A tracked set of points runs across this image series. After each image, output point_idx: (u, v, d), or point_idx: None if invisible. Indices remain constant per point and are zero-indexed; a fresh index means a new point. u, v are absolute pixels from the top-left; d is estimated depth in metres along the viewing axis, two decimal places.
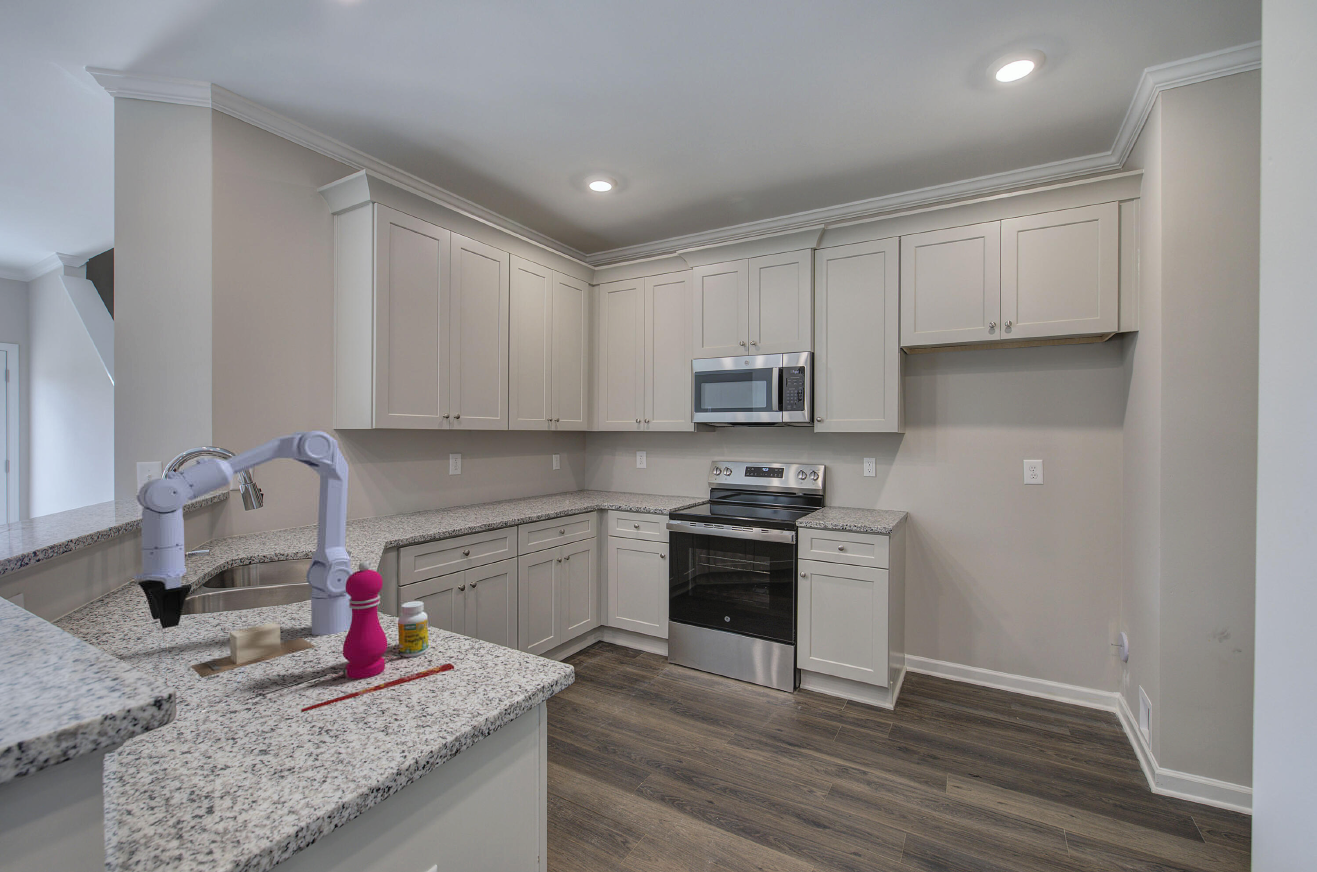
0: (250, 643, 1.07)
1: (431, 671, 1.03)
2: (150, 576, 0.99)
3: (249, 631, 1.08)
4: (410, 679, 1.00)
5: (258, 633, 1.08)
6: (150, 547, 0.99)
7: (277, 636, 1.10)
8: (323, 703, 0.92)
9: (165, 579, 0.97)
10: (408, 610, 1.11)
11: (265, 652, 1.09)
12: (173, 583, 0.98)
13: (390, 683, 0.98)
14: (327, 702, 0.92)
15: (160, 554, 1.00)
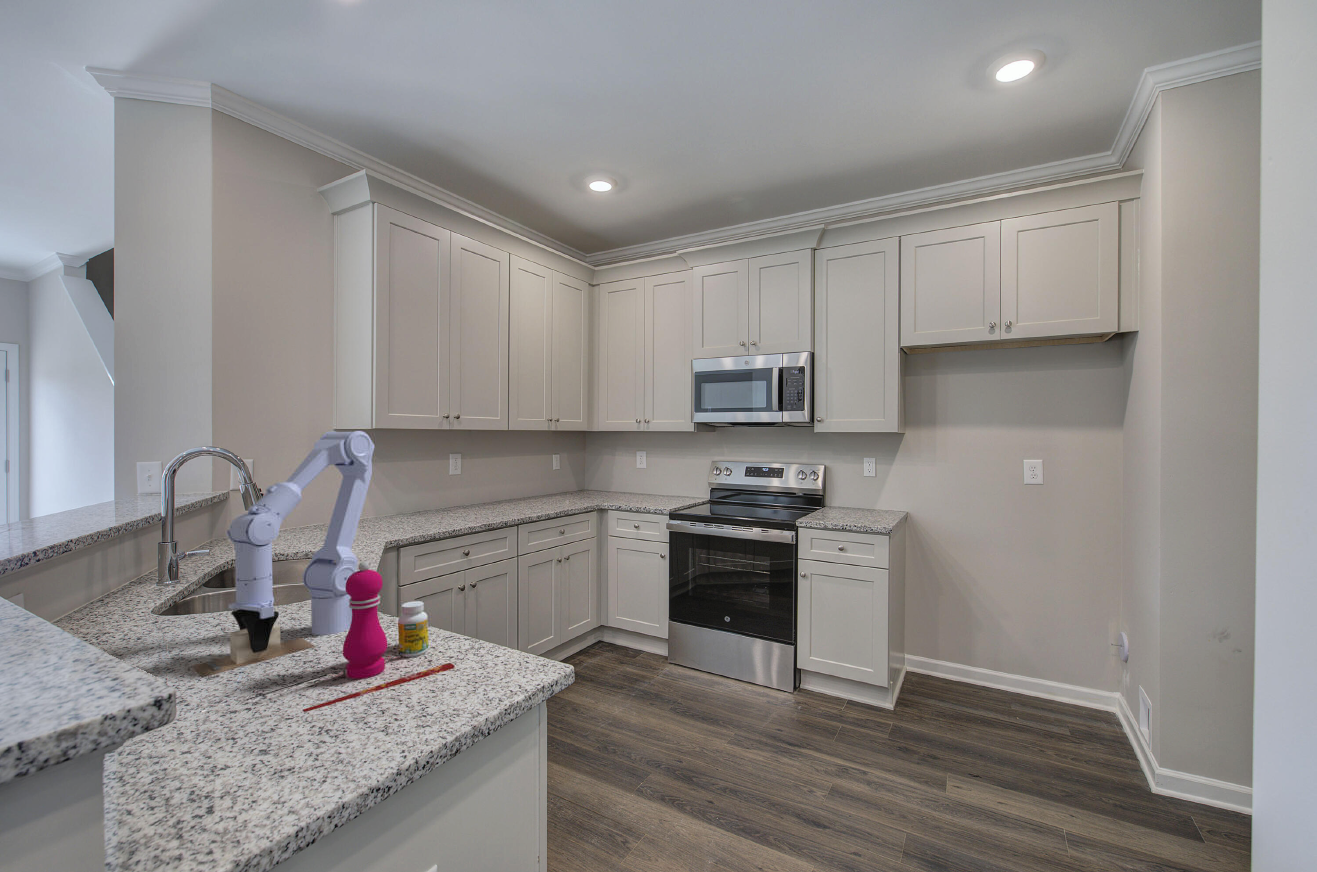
0: None
1: (432, 670, 1.03)
2: (244, 606, 1.06)
3: None
4: (411, 679, 1.00)
5: None
6: (249, 578, 1.06)
7: (277, 636, 1.10)
8: (325, 703, 0.91)
9: (260, 609, 1.04)
10: (408, 610, 1.11)
11: (265, 652, 1.09)
12: (267, 613, 1.05)
13: (391, 683, 0.98)
14: (329, 702, 0.92)
15: (253, 585, 1.07)
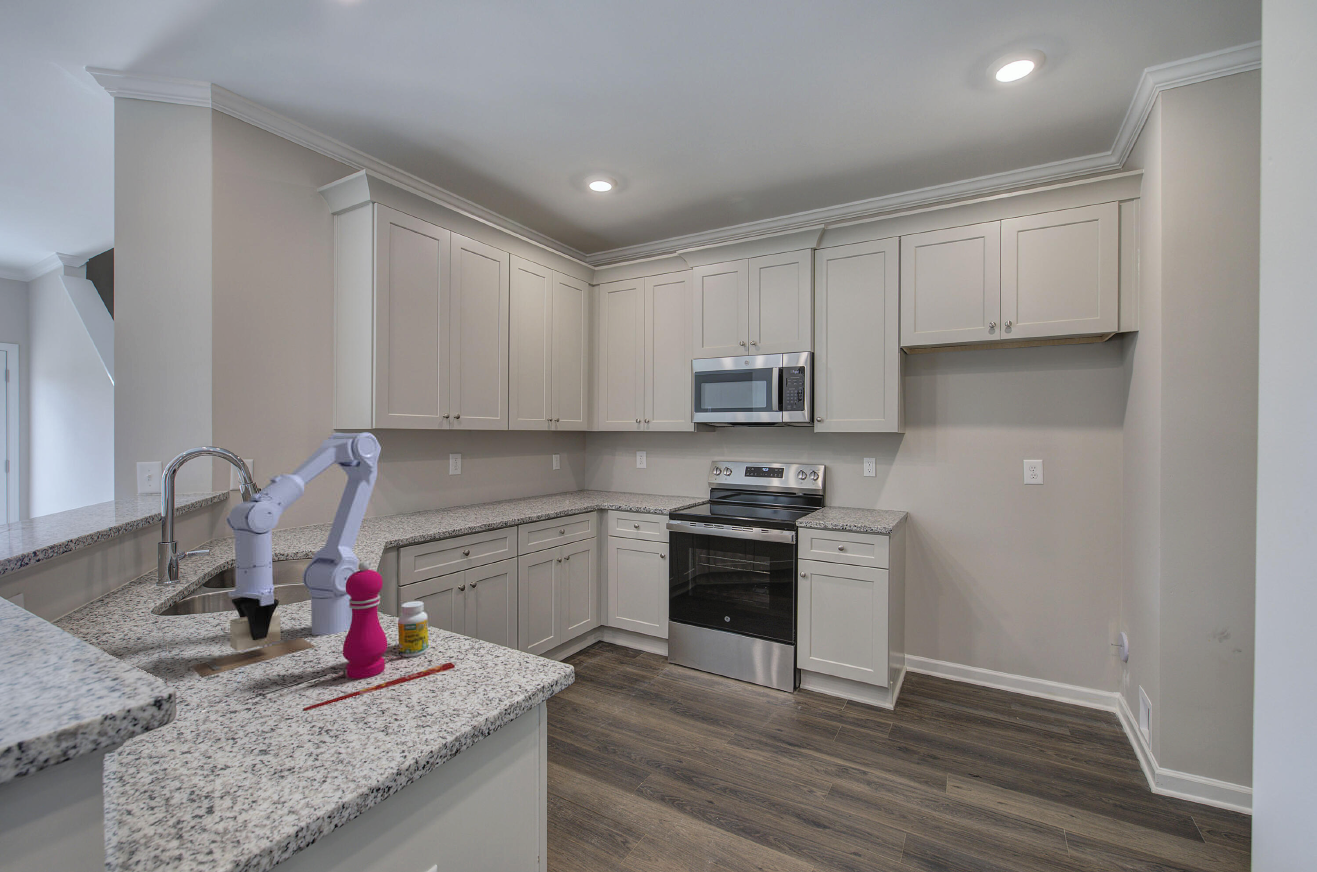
0: None
1: (432, 670, 1.03)
2: (244, 593, 1.06)
3: None
4: (411, 678, 1.00)
5: None
6: (249, 566, 1.06)
7: (277, 624, 1.10)
8: (325, 702, 0.92)
9: (260, 596, 1.04)
10: (408, 610, 1.11)
11: (265, 640, 1.09)
12: (267, 600, 1.05)
13: (391, 682, 0.99)
14: (329, 701, 0.92)
15: (253, 573, 1.07)
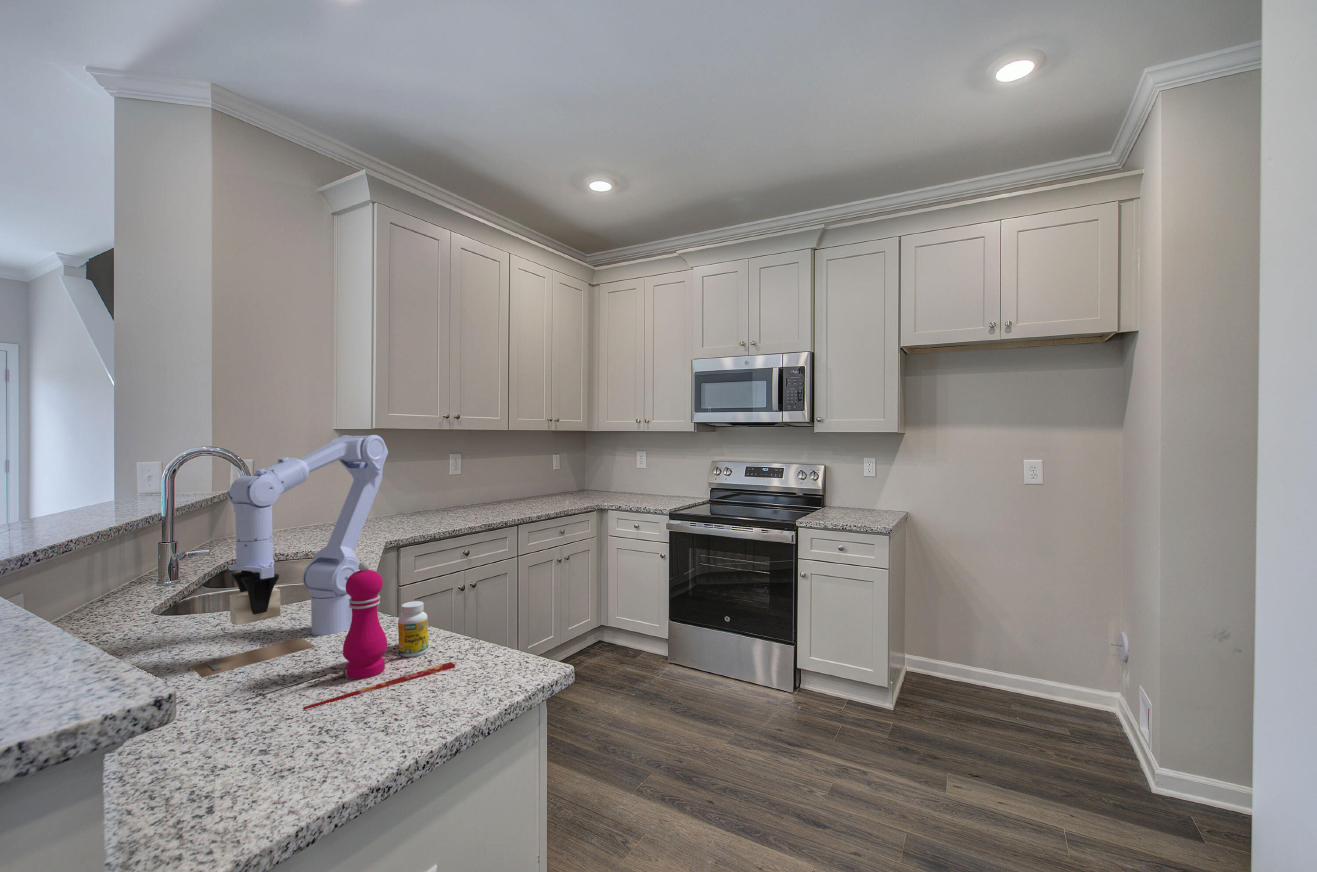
0: None
1: (432, 670, 1.03)
2: (244, 567, 1.05)
3: None
4: (411, 678, 1.01)
5: None
6: (250, 539, 1.06)
7: (277, 599, 1.10)
8: (325, 701, 0.92)
9: (260, 570, 1.04)
10: (408, 610, 1.11)
11: (265, 615, 1.08)
12: (267, 573, 1.04)
13: (391, 682, 0.99)
14: (329, 700, 0.92)
15: (253, 546, 1.06)
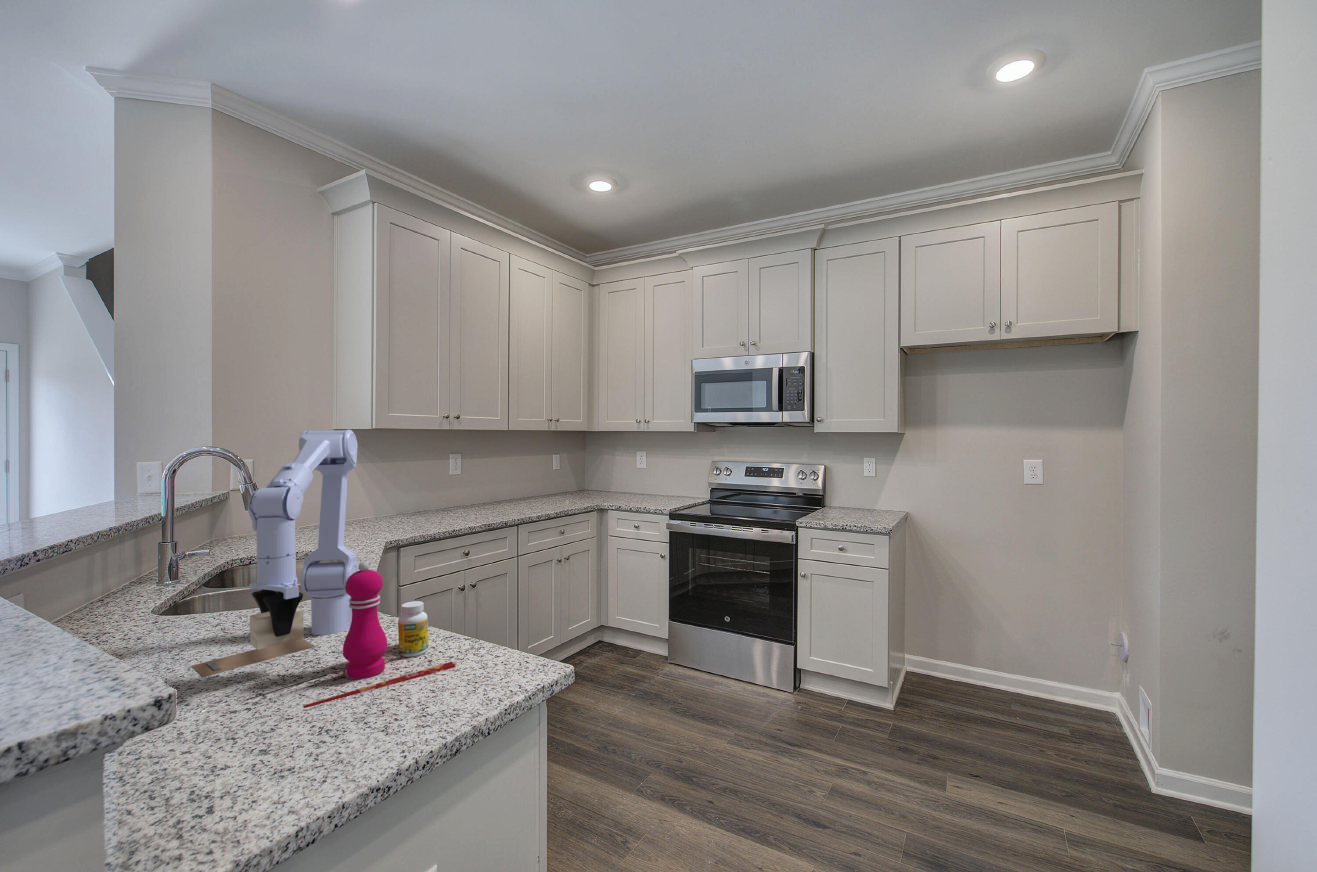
0: (271, 627, 0.99)
1: (433, 669, 1.04)
2: (267, 586, 0.98)
3: None
4: (411, 677, 1.01)
5: None
6: (282, 555, 0.99)
7: (300, 620, 1.02)
8: (325, 700, 0.93)
9: (284, 589, 0.96)
10: (408, 610, 1.11)
11: (287, 637, 1.01)
12: (291, 593, 0.97)
13: (391, 681, 0.99)
14: (329, 699, 0.93)
15: (275, 564, 0.99)
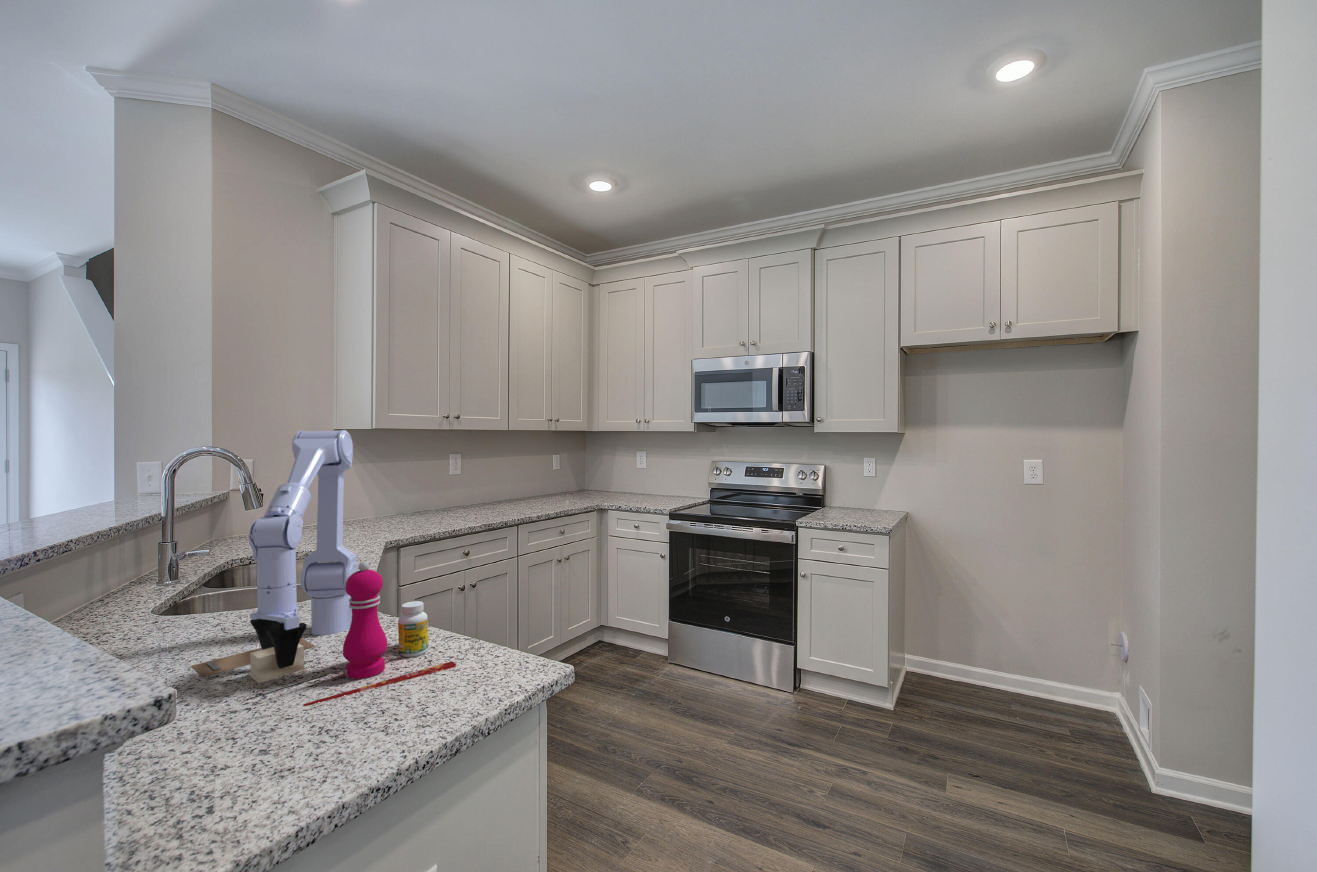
0: (272, 665, 0.99)
1: (433, 668, 1.04)
2: (267, 616, 0.98)
3: (271, 651, 1.00)
4: (411, 676, 1.01)
5: None
6: (283, 584, 0.99)
7: (301, 656, 1.02)
8: (325, 699, 0.93)
9: (284, 620, 0.96)
10: (408, 610, 1.11)
11: None
12: (292, 623, 0.97)
13: (392, 680, 1.00)
14: (329, 698, 0.93)
15: (276, 594, 0.99)
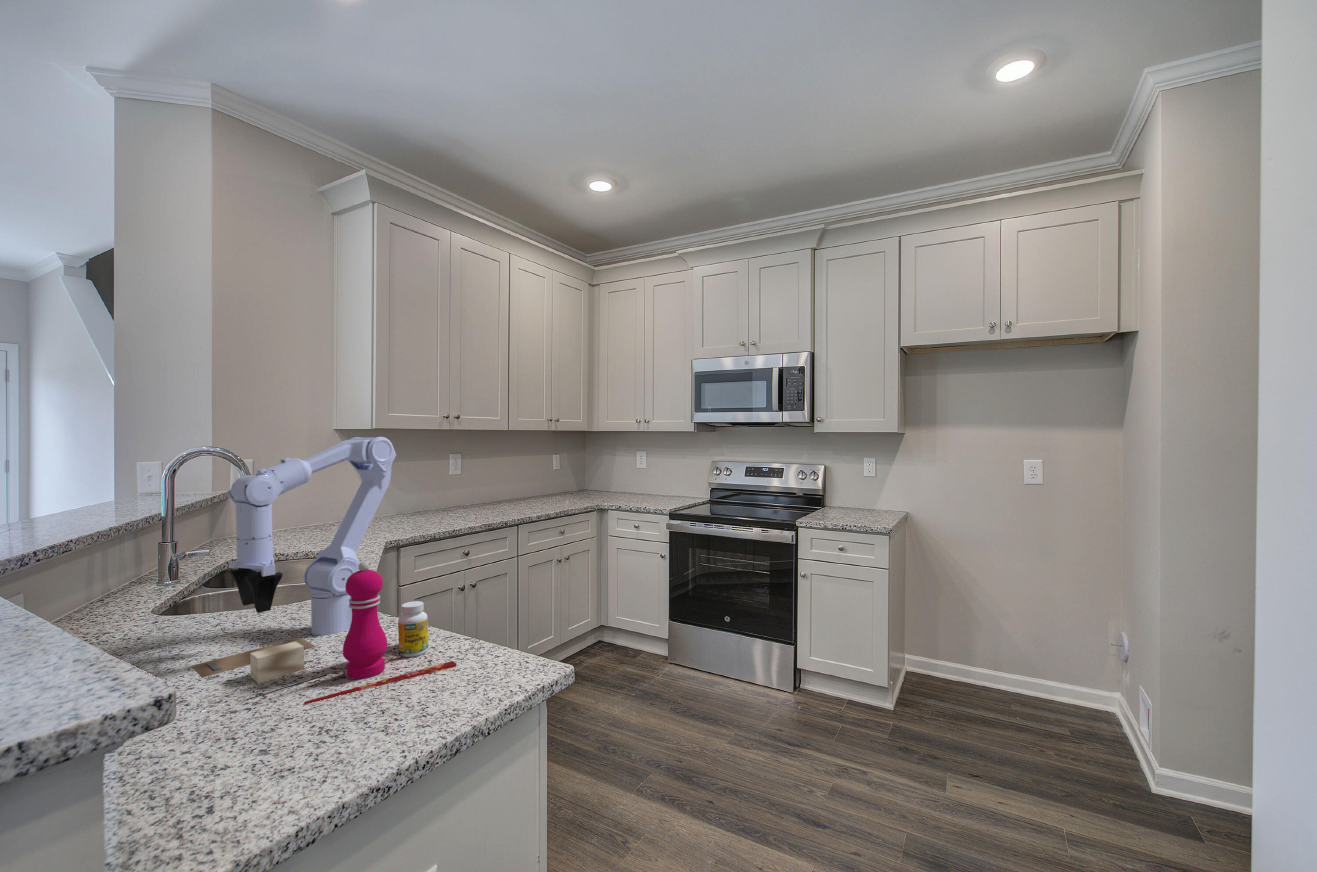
0: (272, 665, 0.99)
1: (433, 668, 1.04)
2: (246, 565, 1.07)
3: (271, 651, 1.00)
4: (412, 676, 1.01)
5: (280, 654, 1.00)
6: (248, 538, 1.08)
7: (301, 656, 1.02)
8: (325, 697, 0.94)
9: (262, 567, 1.06)
10: (408, 610, 1.11)
11: None
12: (269, 571, 1.06)
13: (392, 679, 1.00)
14: (329, 696, 0.94)
15: (254, 545, 1.08)
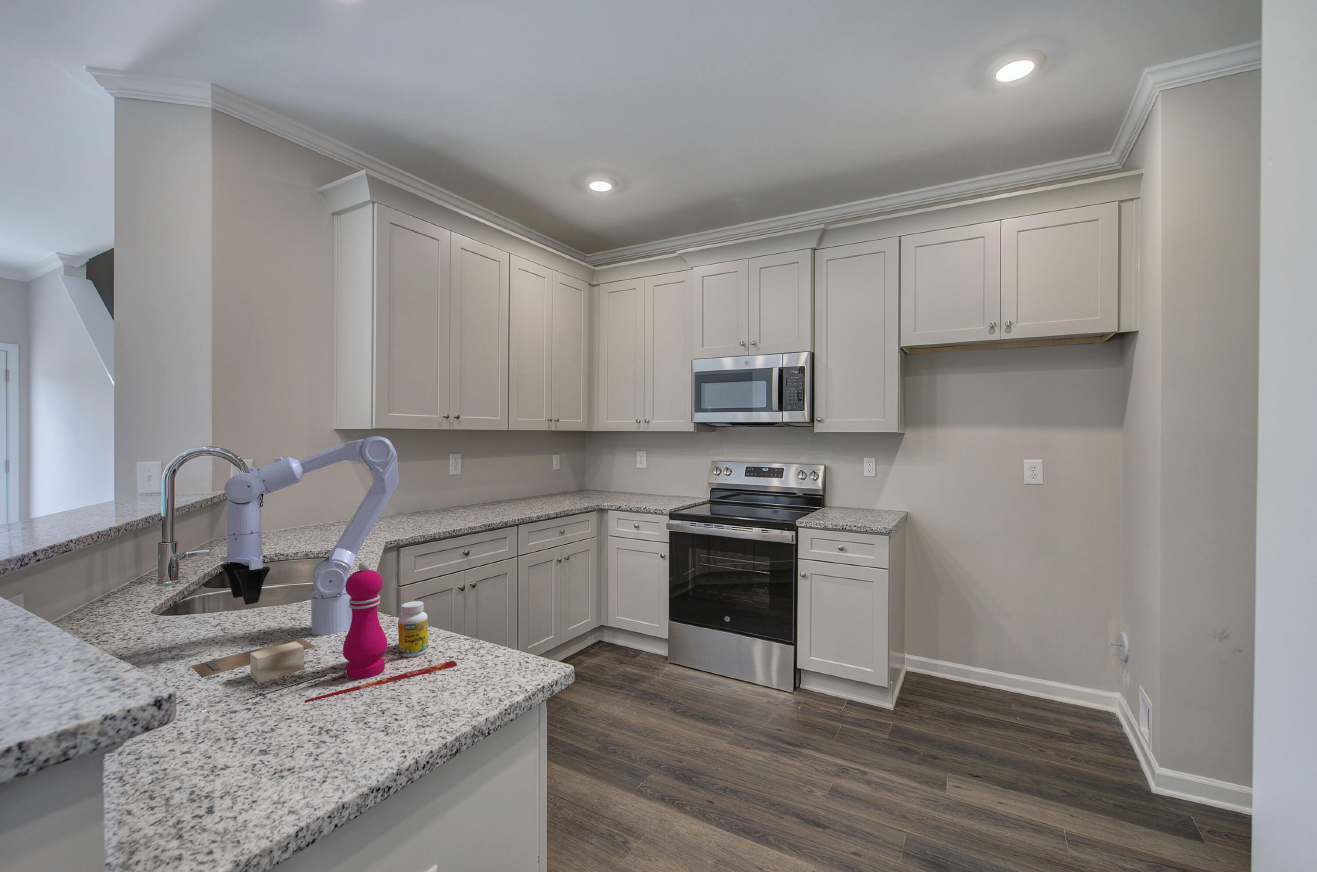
0: (272, 665, 0.99)
1: (434, 667, 1.04)
2: (235, 559, 1.13)
3: (271, 651, 1.00)
4: (412, 675, 1.02)
5: (280, 654, 1.00)
6: (230, 533, 1.13)
7: (301, 656, 1.02)
8: (326, 695, 0.94)
9: (249, 561, 1.11)
10: (408, 610, 1.11)
11: None
12: (256, 565, 1.11)
13: (392, 678, 1.00)
14: (329, 694, 0.95)
15: (243, 540, 1.14)
